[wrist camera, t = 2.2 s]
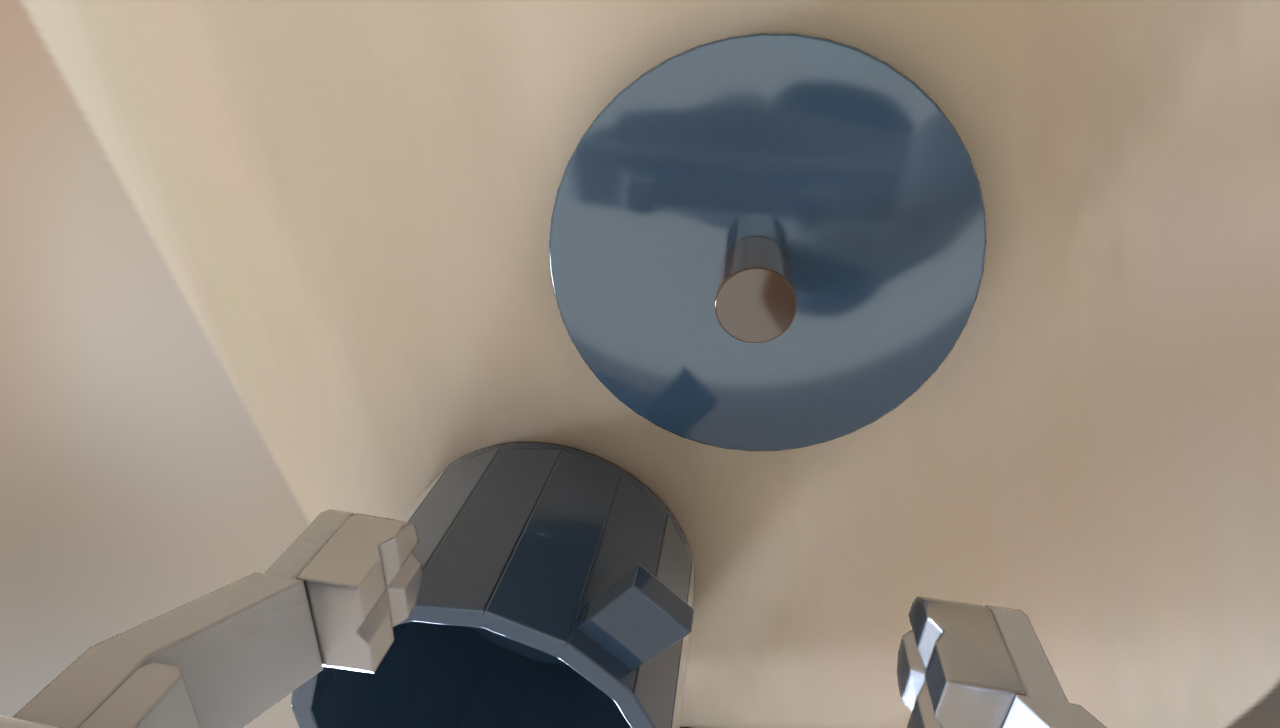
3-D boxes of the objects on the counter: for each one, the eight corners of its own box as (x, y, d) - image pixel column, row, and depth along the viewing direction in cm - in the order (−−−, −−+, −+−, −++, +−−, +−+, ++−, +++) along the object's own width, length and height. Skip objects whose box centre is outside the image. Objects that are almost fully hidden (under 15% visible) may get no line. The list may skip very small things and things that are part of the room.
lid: (1070, 260, 22) (1141, 310, 18) (749, 497, 28) (747, 575, 24) (765, -82, 20) (766, -115, 15) (482, 260, 26) (428, 303, 22)
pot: (802, 549, 29) (820, 756, 21) (539, 724, 37) (474, 926, 29) (567, 342, 27) (478, 481, 18) (338, 576, 35) (202, 750, 26)
